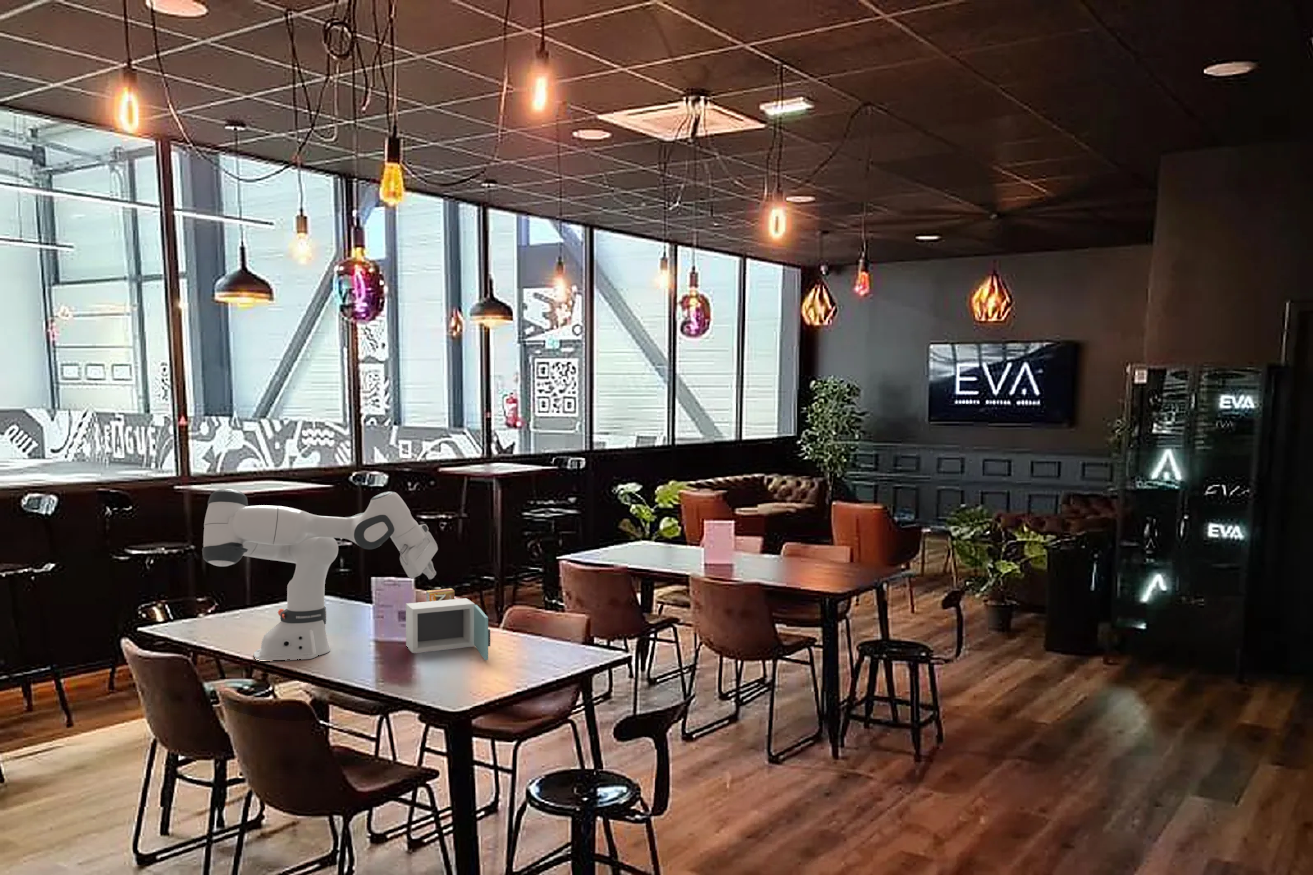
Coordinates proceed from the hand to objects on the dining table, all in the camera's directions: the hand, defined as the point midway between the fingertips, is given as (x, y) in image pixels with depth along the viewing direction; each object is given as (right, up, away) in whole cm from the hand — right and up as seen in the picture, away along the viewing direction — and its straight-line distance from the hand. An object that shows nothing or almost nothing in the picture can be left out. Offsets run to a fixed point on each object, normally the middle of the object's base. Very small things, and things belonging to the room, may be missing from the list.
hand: (433, 576), depth 284 cm
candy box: (-6, -26, +37) cm, 45 cm away
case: (-3, -26, +21) cm, 33 cm away
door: (+13, -25, +11) cm, 30 cm away
